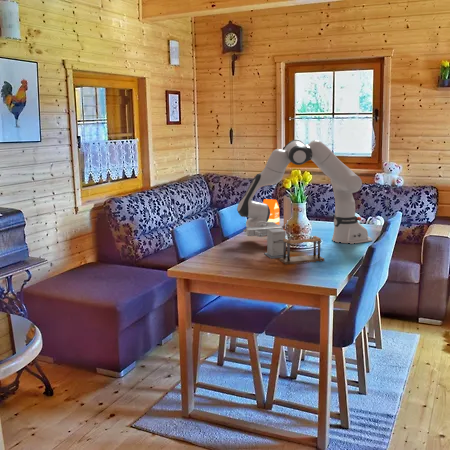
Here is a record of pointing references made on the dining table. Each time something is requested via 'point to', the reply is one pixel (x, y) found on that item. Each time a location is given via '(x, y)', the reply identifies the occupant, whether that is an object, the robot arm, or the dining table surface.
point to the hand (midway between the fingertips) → (268, 233)
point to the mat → (274, 256)
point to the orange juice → (273, 210)
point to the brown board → (302, 259)
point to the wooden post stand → (301, 242)
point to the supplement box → (275, 242)
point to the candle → (287, 209)
